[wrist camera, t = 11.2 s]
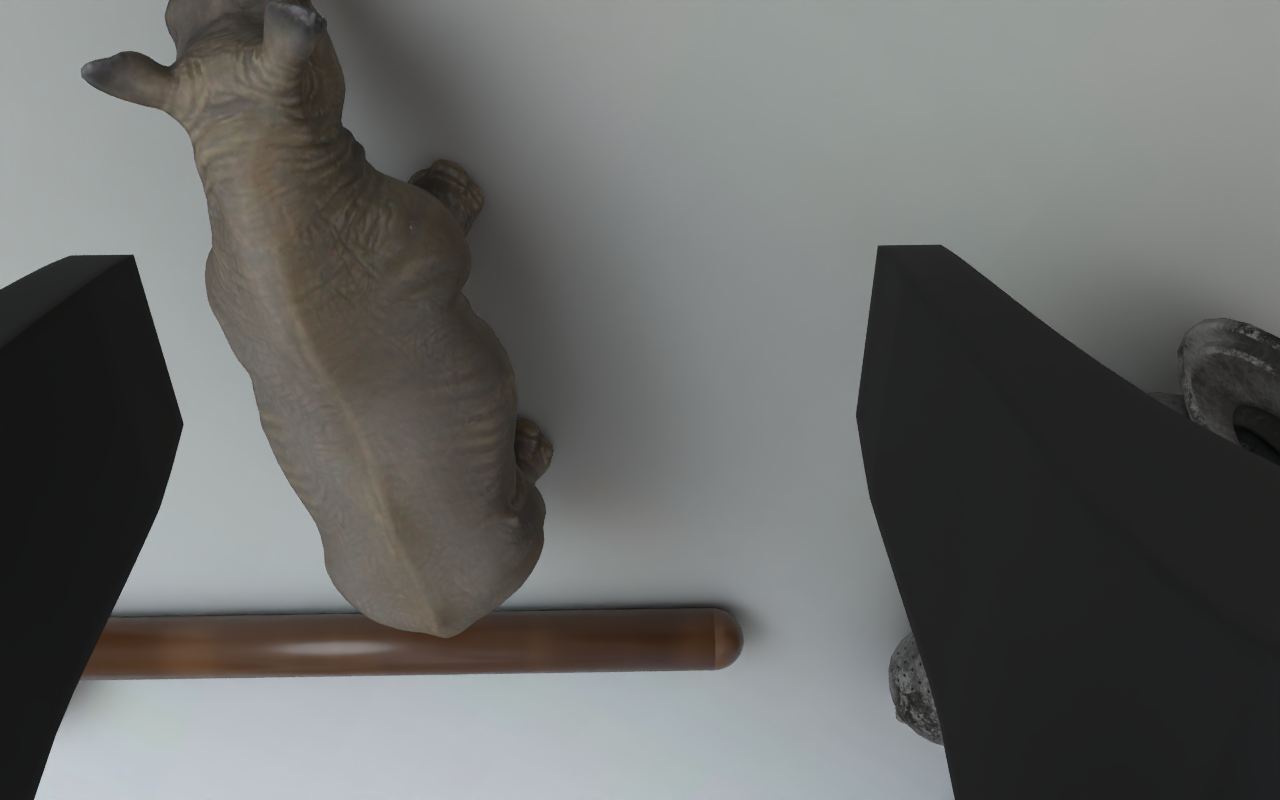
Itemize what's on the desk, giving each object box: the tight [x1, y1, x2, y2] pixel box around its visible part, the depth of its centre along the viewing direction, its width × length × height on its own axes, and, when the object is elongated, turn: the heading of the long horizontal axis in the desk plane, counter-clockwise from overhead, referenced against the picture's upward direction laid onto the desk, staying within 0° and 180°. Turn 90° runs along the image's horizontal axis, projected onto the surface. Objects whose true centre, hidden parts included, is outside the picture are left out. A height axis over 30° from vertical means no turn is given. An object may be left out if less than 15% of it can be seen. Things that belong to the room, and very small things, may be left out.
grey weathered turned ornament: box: [889, 318, 1280, 746], centre depth 24 cm, size 6×6×12 cm
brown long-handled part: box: [80, 608, 743, 680], centre depth 27 cm, size 22×6×1 cm, turn 90°
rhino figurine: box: [81, 0, 554, 638], centre depth 19 cm, size 4×14×6 cm, turn 12°
